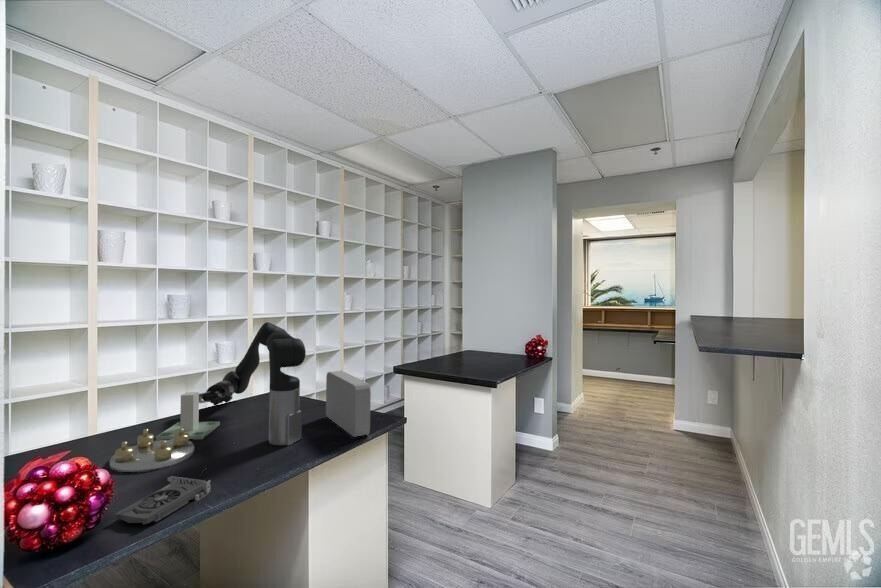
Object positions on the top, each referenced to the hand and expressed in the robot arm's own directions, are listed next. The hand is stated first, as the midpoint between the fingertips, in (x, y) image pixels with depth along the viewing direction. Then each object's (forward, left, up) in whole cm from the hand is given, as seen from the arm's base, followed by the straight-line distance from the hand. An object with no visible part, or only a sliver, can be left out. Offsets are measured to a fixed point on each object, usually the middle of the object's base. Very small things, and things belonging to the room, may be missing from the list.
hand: (202, 402), depth 148 cm
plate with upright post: (-5, +8, -7) cm, 12 cm away
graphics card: (-43, +42, -8) cm, 60 cm away
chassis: (-15, +26, -7) cm, 31 cm away
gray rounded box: (-49, -20, -8) cm, 53 cm away
